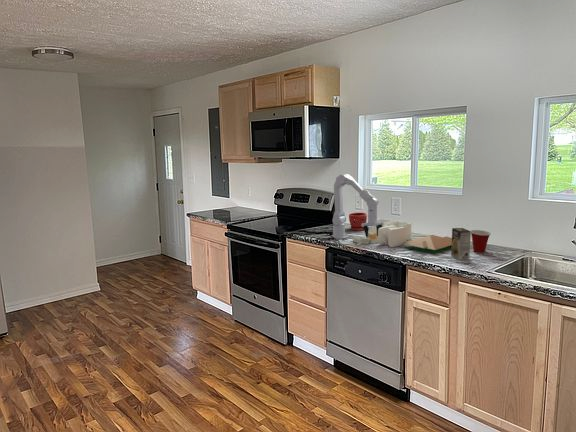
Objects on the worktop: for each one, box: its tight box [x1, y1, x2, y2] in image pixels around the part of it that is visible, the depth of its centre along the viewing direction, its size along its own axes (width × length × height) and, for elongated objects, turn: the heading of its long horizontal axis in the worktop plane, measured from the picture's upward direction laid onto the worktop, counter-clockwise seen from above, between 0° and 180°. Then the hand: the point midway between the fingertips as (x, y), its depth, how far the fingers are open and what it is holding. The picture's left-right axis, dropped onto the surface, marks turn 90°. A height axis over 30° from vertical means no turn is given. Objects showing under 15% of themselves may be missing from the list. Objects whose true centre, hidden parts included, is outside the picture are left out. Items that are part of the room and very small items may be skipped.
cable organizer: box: [377, 225, 407, 248], centre depth 264 cm, size 15×11×12 cm
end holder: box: [363, 236, 378, 244], centre depth 276 cm, size 9×9×2 cm
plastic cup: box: [470, 229, 491, 254], centre depth 242 cm, size 11×11×12 cm
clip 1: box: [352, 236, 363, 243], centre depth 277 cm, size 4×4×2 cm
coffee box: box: [450, 227, 472, 261], centre depth 231 cm, size 9×6×16 cm
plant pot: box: [348, 212, 368, 231], centre depth 315 cm, size 13×13×12 cm
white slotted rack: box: [370, 218, 412, 241], centre depth 286 cm, size 25×11×11 cm, turn 39°
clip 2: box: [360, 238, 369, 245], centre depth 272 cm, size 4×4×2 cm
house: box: [403, 234, 452, 255], centre depth 257 cm, size 23×33×8 cm
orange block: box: [367, 232, 377, 239], centre depth 278 cm, size 6×4×5 cm, turn 13°
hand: (372, 236), depth 277 cm, fingers open, 7 cm apart
